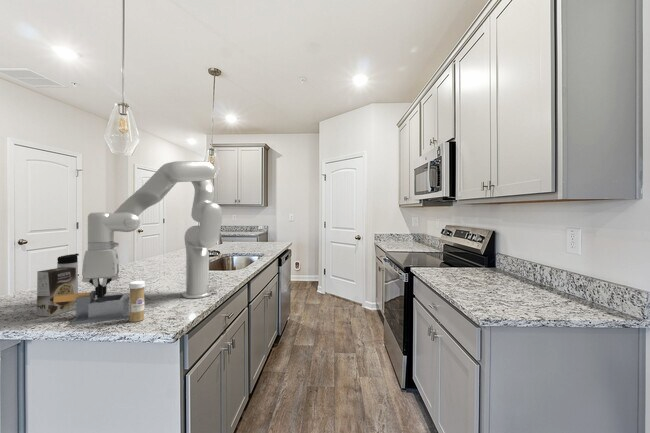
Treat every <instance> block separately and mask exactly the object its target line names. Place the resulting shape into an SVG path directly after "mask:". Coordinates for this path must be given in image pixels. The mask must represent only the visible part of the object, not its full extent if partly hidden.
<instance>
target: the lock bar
mask: <svg viewBox="0 0 650 433" xmlns="http://www.w3.org/2000/svg"><path fill="white" fill-rule="evenodd" d="M84 296H91V300H94V299H95V297H96V295H95V290H91V291H90V292H80V293H79V292H78V293H77V294H65V295H56V296H54V303H55V302H66V301H76V298H77V297H84Z"/></svg>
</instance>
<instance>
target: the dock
mask: <svg viewBox="0 0 650 433" xmlns="http://www.w3.org/2000/svg"><path fill="white" fill-rule="evenodd" d="M126 319H130V312H129V293H128V292H125V293H116V294H106V295H105V296H104V297H103V298H101V297H100V298H97V295H95V299H94V300H91V296H84V297H77V298H76V309H75V318H74V319H72V321H70V326H75V325H76V326H77V325H82V324H89V323H90V324H93V323H100V322H108V321H115V320H126Z"/></svg>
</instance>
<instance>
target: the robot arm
mask: <svg viewBox="0 0 650 433" xmlns="http://www.w3.org/2000/svg"><path fill="white" fill-rule="evenodd" d="M215 174H216V169H215V166H214V165H213V164H212V163H211V162H209V161H207V160H187V161H186V160H177V161H176V160H175V161H171V162H167V163H164V164H163V165H161V166H160V167H159V168H158V169H157V170H156V171H155V173H153V174H152V176H151V177H150V178H148V179H147V181H146V182H145V183H144V184H143V185H142V186H141V187H139V188H138V189H137V190H136V191H135V192H134V193H133V194H131V196H129V197H128V198H127V199H125V201H124V202H123V203H122V204H120V206H119V207H118V208H116V210H114V212H113V213H112V212H104V211H103V212H91V213H89V214H88V215H87V250H85V251H84V255H83V261H82V272H81V275H82V280H81V282H82V283H90V284H91V285H92V286H93V287H94V288H95V290H94V291H95V296H97V298H100V297H101V298H103V297H104V296H105V295H107V291H108V290H107V289H108V288H107V287H108V286H107V285H108V284H110V283H111V282H113V281H116V280H119V279H120V276H119V273H120V264H119V255H118V251H117V250H118V249H116V248H117V247H119V246H120V244H119V242H115V239H114V238H115V237H114V236H115V233H114V232H121V233H122V232H123V233H130V232H135V231H136V230H137V229H138V228H139V227H140V225H141V219H140V217H139V216H140V215H141V214H142V213H143V212H144V211H145V210H146V209H148V208H150V207H152V206H155V205H156V204H157V203H160V201H162V200H163V199H164V198H165V197H166V195H167V194H169V192H170V191H171V190H172V189H173V188H174V187H175V185H176V184H177V183H187V182H188V183H189V182H190V183H191V184H192V186H193V187H194V195H193V202H192V208H191V213H190V214H191V215H190V216H191V218H192V220H193V221H195V222H197V223H199V225H192V226H190V227H188V228H187V229H186V231H185V232H184V245H185V256H186V258H185V261H186V262H185V290H184V291H183V292H182V294H181V297H183V298H184V299H200V298H206V297H208V296H211V295H212V294H213V290H220V284H210V281H209V279H210V277H209V276H210V273H209V272H210V253H209V249H210V248H213V247H215V246H216V244H217V243H218V241H219V238H220V235H221V228H222V222H223V211H222V207H221V206H220V205H219V204H218V203H217V202H214V201H215V187H214V184H213V182H212V179H213V178H214V176H215ZM100 279H102V283H101V281H100Z"/></svg>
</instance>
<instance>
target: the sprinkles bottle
mask: <svg viewBox="0 0 650 433" xmlns="http://www.w3.org/2000/svg"><path fill="white" fill-rule="evenodd" d="M145 283H146V282H145V280H136V281H135V280H134V281H131V282H129V283H128V284H129V285H128V288H129V296H128V304H129V312H130V318H128V319H129V320H128V321H129V322H131V323H137V322H141V321H143V320H145V287H146V285H145Z"/></svg>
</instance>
